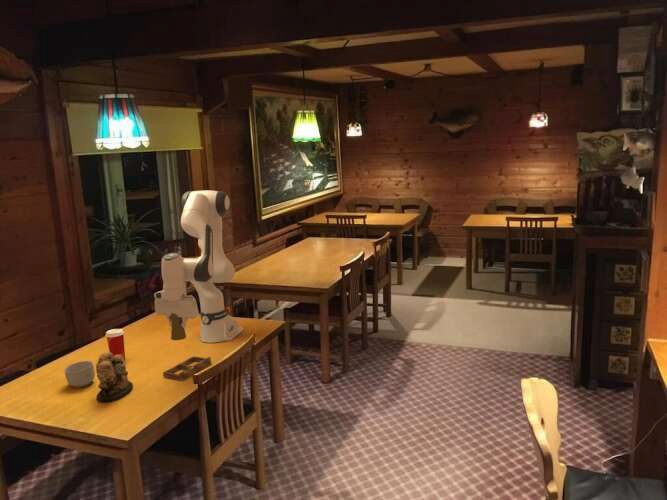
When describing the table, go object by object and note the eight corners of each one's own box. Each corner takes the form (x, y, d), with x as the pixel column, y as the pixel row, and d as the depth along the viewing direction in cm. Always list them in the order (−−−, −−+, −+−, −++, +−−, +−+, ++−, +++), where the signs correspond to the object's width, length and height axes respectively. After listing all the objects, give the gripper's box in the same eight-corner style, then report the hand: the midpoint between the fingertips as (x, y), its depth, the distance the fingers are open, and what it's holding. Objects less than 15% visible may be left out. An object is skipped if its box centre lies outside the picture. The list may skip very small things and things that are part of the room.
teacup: (92, 388, 222) (89, 369, 220) (63, 391, 220) (60, 372, 219) (100, 374, 236) (97, 356, 234) (73, 377, 234) (70, 359, 232)
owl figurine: (119, 404, 207) (113, 361, 204) (89, 405, 208) (82, 362, 205) (139, 382, 225) (133, 342, 221) (110, 383, 226) (104, 343, 222)
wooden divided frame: (193, 360, 245) (192, 351, 244) (211, 363, 241) (210, 354, 240) (163, 377, 229) (162, 367, 228) (181, 380, 225) (180, 371, 224)
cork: (181, 340, 225) (179, 314, 223) (168, 339, 226) (165, 313, 224) (188, 335, 231) (186, 310, 229) (175, 335, 232) (173, 309, 230)
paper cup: (115, 357, 253) (111, 328, 251) (131, 357, 252) (127, 328, 249) (105, 364, 246) (101, 334, 243) (121, 364, 244) (117, 334, 241)
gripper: (200, 293, 224) (203, 327, 226) (162, 290, 233) (165, 321, 235) (189, 297, 218) (192, 331, 220) (150, 293, 227) (154, 326, 230)
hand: (178, 326), depth 228 cm, fingers closed on cork, 4 cm apart
